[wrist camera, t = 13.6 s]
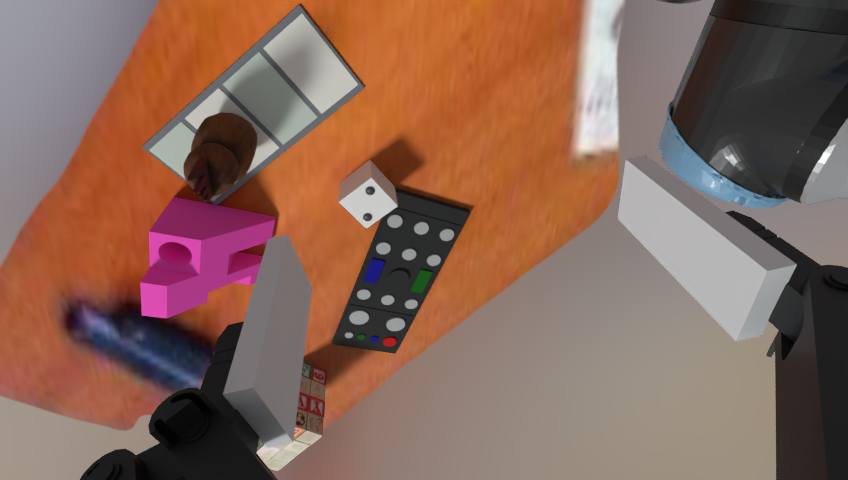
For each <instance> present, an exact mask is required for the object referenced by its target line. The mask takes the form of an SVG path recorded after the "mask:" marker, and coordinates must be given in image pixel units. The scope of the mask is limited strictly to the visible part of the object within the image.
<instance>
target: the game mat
mask: <svg viewBox="0 0 848 480" xmlns="http://www.w3.org/2000/svg"><path fill="white" fill-rule="evenodd" d="M363 89H364V86H363V85H362V84H361V82H360V81H359V80H358V79H357V77H356V76H355V75H354V74H353V72H352V71H351V70H350V68H349V67H348V66H347V65H346V63H345V62H344V61H343V59H342V58H341V57H340V56H339V54H338V53H337V52H336V51H335V49H334V48H333V47H332V45H331V44H330V43H329V42H328V40H327V39H326V38H325V37H324V35H323V34H322V33H321V31H320V30H319V29H318V28H317V26H316V25H315V24H314V22H313V21H312V20H311V19H310V17H309V16H308V15H307V14H306V12H305V11H304V10H303V8H302V7H301V6H300V5H298V6H297V7H296V8H295V9H294V10H293V11H291V12H290V13H289V14H288V15H287V16H286V17H285V18H284V19H283V20H281V21H280V22H279V23H278V24H277V25H276V26H275V27H274V28H273V29H272V30H270V31H269V32H268V33H267V34H266V35H265V36H264V37H263V38H262V39H260V40H259V41H258V42H257V43H256V44H255V45H254V46H253V47H252V48H250V49H249V50H248V51H247V52H246V53H245V54H244V55H243V56H242V57H241V58H239V59H238V60H237V61H236V62H235V63H234V64H233V65H232V66H231V67H229V68H228V69H227V70H226V71H225V72H224V73H223V74H222V75H221V76H220V77H218V78H217V79H216V80H215V81H214V82H213V83H212V84H211V85H210V86H208V87H207V88H206V89H205V90H204V91H203V92H202V93H201V94H200V95H199V96H197V97H196V98H195V99H194V100H193V101H192V102H191V103H190V104H189V105H187V106H186V107H185V108H184V109H183V110H182V111H181V112H180V113H179V114H178V115H176V116H175V117H174V118H173V119H172V120H171V121H170V122H169V123H168V124H166V125H165V126H164V127H163V128H162V129H161V130H160V131H159V132H158V133H157V134H155V135H154V136H153V137H152V138H151V139H150V140H149V141H148V142H147V143H145V144H144V145H143V146H142V148H144V149H145V150H146V151H147V152H149V153H150V154H151V155H152V156H154V157H155V158H156V159H157V160H159V161H160V162H161V163H163V164H164V165H165V166H166V167H168V168H169V169H170V170H171V171H173V172H174V173H175V174H176V175H178V176H179V177H180V178H181V179H183V180H184V181H185V182H187V181H186V179H185V176H184V169H183V166H184V162H185V160H186V158H187V156H188V154H189V153H190V152H191V145H192V142H193V139H194V136H195V133H196V131H197V129H198V128H199V126H200V125H201V123H202V122H203V121H204V119H205V118H207V117H209V116H212V115H215V114H217V113H222V112H224V113H234V114H236V115H239V116H241V117H243V118H244V119H246V120H247V121H248V122H250V123H251V124H252V126H253V128H254V129H255V131H256V133H257V147H256V152H255V156H254V158H253V161H252V163H251V166H250V168H249V170H248V171H247V173H246V174H245V176H244V177H243V178H242V179H241V180H239V181H236V182H235V183H234V185H233V186H232V188H230V189H229V190H228V191H227V192H225V193H223V194H220V195H218V196H213V197H212V198H211V199H210V200H209V201H211V202H212V203H213V204H214V205H216V206H217V205H218V204H219V203H221V202H222V201H223V200H224V199H226V198H227V197H228V196H230V195H231V194H232V193H233V192H235V191H236V190H237V189H238V188H240V187H241V186H242V185H243V184H245V183H246V182H247V181H248V180H250V179H251V178H252V177H253V176H255V175H256V174H257V173H258V172H260V171H261V170H262V169H263V168H265V167H266V166H267V165H268V164H270V163H271V162H272V161H273V160H275V159H276V158H277V157H278V156H280V155H281V154H282V153H284V152H285V151H286V150H287V149H289V148H290V147H291V146H292V145H294V144H295V143H296V142H297V141H299V140H300V139H301V138H302V137H304V136H305V135H306V134H307V133H309V132H310V131H311V130H312V129H314V128H315V127H316V126H317V125H319V124H320V123H321V122H322V121H324V120H325V119H326V118H327V117H329V116H330V115H331V114H333V113H334V112H335V111H336V110H338V109H339V108H340V107H341V106H343V105H344V104H345V103H346V102H348V101H349V100H350V99H351V98H353V97H354V96H355V95H356V94H358V93H359V92H360V91H361V90H363Z"/></svg>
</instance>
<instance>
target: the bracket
mask: <svg viewBox="0 0 848 480" xmlns="http://www.w3.org/2000/svg"><path fill="white" fill-rule="evenodd" d="M275 218H276V217H274V216H269V215H263V214H258V213H253V212H248V211H243V210H238V209H233V208H228V207H223V206H218V205H217V206H216V205H213V204H208V203H203V202H198V201H193V200H188V199H183V198H178V197H173V199H172V200H171V201H170V203H169V204H168V206H167V207H166V208H165V210H164V211H163V213H162V214H161V215H160V217H159V218H158V220H157V221H156V222H155V224H154V225H153V227H152V228H151V229H150V231H149V251H150V268H149V270H148V271H147V273H146V275H145V276H144V278H143V279H142V281H141V305H142V315H143V316H152V317H160V318H169V317H171V316H174V315H176V314H179V313H181V312H184V311H186V310H189V309H191V308H194V307H196V306H199V305H201V304H204V303H206V302H207V296H208V292H210V291H212V290H215V289H218V288H220V287H223V286H225V285H228V284H231V283H233V282H234V283H240V284H247V285H251V284H253V283H255V282H256V278H257V275H258V271H259V268H260V265H261V261H262V258H263V256H259V255H254V254H248V253H242V252H238V251H241V250H245V249H248V248H251V247H254V246H257V245H260V244H263V243H266V242H267V240H268V239H270V238H272V236H273V230H274V224H275Z"/></svg>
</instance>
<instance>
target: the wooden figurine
mask: <svg viewBox="0 0 848 480" xmlns="http://www.w3.org/2000/svg"><path fill="white" fill-rule="evenodd" d="M256 147H257V133H256V131H255V129H254V128H253V126H252V124H251V123H250V122H248V121H247V120H246V119H244V118H243V117H241V116H239V115H236V114H234V113H224V112H222V113H217V114H215V115H212V116H209V117H207V118H205V119H204V121H203V122H202V123H201V125H200V126H199V128H198V129H197V131H196V133H195V136H194V139H193V142H192V145H191V152H190V153H189V154H188V156H187V158H186V160H185V162H184V166H183V169H184V176H185V179H186V181H187V183H188V184H189V185H190V187H191V188H192V189H193V194H195V195H196V194H197V193H199V195H198V197H199V198H202V201H203V202H208V201H209V200H210V199H211V198H212V197H213V196H218V195H220V194H223V193H225V192H227V191H228V190H229V189H230V188H232V186H233V185H234V183H235V182H236V181H239V180H241V179H242V178H243V177H244V176H245V174H246V173H247V171H248V170H249V168H250V166H251V163H252V161H253V158H254V156H255V152H256Z"/></svg>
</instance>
